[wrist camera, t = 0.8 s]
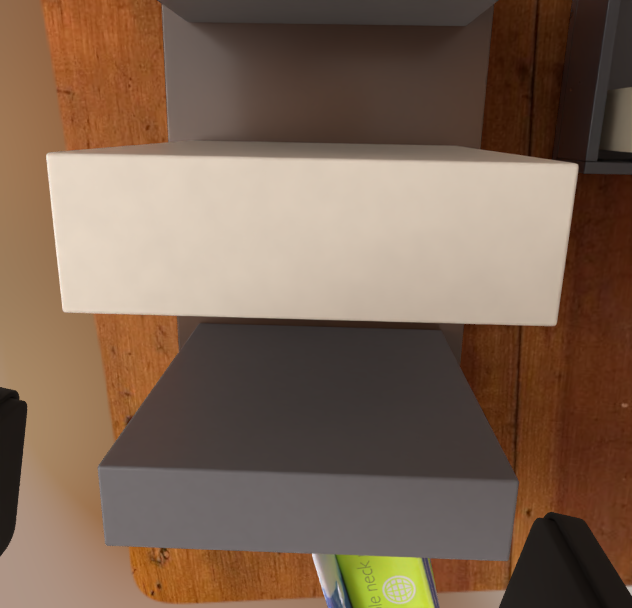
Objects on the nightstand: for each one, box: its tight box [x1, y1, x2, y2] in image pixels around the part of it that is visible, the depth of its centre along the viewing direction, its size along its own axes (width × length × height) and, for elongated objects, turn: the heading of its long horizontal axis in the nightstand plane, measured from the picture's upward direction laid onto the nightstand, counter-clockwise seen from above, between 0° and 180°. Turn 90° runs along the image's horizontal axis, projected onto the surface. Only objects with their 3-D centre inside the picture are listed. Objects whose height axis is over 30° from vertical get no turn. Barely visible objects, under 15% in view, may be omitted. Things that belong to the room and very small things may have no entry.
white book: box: [46, 141, 579, 326], centre depth 19 cm, size 4×11×13 cm, turn 89°
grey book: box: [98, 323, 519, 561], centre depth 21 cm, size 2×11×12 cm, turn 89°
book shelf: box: [161, 3, 494, 366], centre depth 30 cm, size 20×13×10 cm, turn 179°
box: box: [312, 554, 440, 608], centre depth 31 cm, size 11×4×17 cm, turn 16°
